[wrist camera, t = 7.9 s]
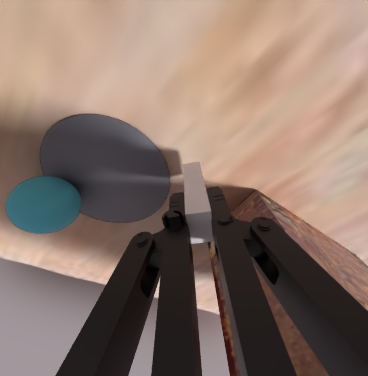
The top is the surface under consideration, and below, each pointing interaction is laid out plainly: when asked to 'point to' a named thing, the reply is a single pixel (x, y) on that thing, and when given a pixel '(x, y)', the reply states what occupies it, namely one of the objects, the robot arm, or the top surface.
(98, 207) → the disc
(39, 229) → the ball
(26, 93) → the top surface
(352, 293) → the book
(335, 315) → the robot arm
